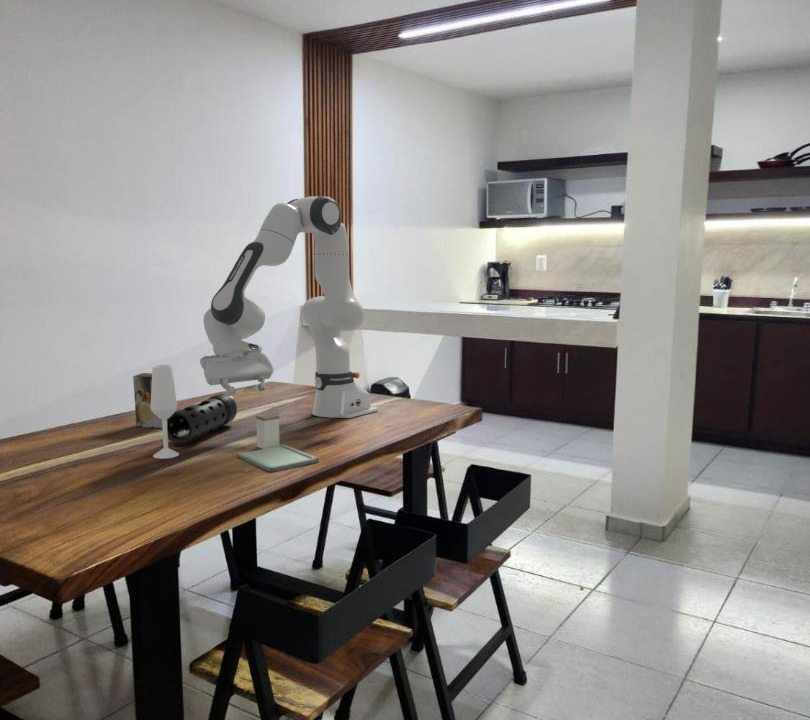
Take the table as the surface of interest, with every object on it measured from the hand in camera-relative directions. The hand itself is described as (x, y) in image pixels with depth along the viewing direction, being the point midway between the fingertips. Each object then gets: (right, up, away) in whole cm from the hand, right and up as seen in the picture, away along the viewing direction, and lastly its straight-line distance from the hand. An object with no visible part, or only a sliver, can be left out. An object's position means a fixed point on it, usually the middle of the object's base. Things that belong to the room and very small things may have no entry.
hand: (248, 391), depth 207 cm
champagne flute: (-19, -16, -14) cm, 29 cm away
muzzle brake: (-15, -13, +7) cm, 21 cm away
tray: (+11, -17, -18) cm, 27 cm away
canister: (+7, -15, -6) cm, 18 cm away
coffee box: (-33, -11, +19) cm, 40 cm away
